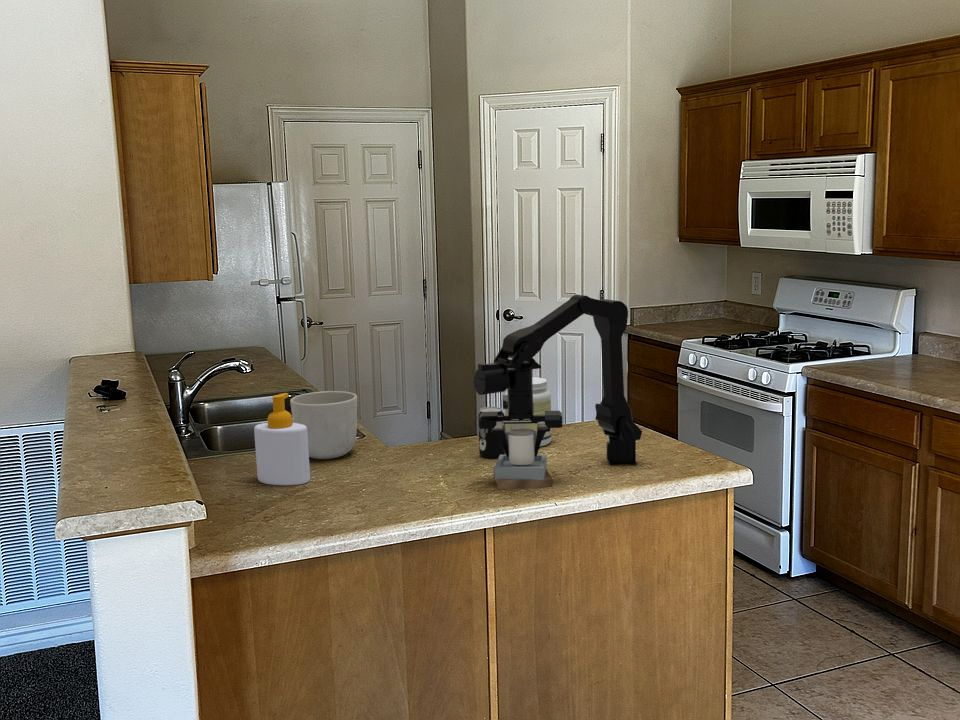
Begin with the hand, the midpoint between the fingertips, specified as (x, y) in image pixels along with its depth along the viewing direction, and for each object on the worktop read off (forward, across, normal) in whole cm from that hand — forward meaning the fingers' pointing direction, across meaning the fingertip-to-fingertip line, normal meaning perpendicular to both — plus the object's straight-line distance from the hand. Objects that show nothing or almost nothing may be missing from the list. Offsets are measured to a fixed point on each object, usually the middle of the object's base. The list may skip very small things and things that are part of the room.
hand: (521, 456), depth 203 cm
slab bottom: (+6, 0, 0) cm, 6 cm away
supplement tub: (+6, -1, -33) cm, 33 cm away
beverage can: (+6, +8, -21) cm, 23 cm away
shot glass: (+1, 0, 0) cm, 1 cm away
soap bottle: (+6, +56, -1) cm, 56 cm away
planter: (+6, +51, -23) cm, 56 cm away
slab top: (+4, 0, 0) cm, 4 cm away
